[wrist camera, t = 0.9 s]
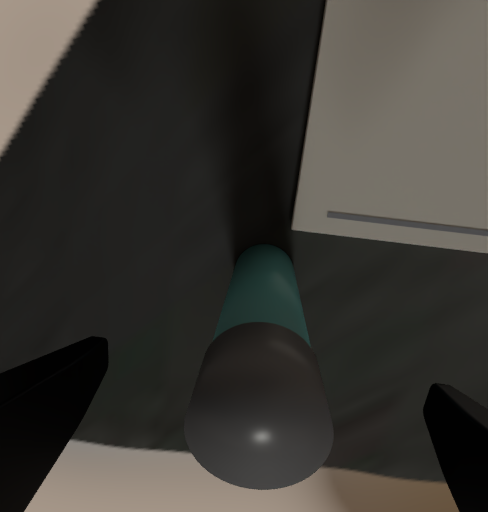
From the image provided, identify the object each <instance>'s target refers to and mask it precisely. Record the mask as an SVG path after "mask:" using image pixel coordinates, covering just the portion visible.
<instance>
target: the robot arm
mask: <svg viewBox="0 0 488 512" xmlns="http://www.w3.org/2000/svg"><path fill="white" fill-rule="evenodd" d="M107 369H108V341H107V339H106V338H102V337H95V336H91V337H89V338H86V339H84V340H81V341H79V342H76V343H74V344H71V345H69V346H67V347H64V348H62V349H59V350H57V351H54V352H52V353H49V354H47V355H44V356H42V357H39V358H37V359H35V360H32V361H30V362H27V363H25V364H22V365H20V366H17V367H15V368H12V369H10V370H8V371H5V372H3V373H0V512H24V511H25V509H26V508H27V506H28V504H29V503H30V501H31V500H32V498H33V497H34V495H35V493H36V492H37V490H38V489H39V487H40V486H41V484H42V482H43V481H44V479H45V478H46V476H47V475H48V473H49V472H50V470H51V468H52V467H53V465H54V464H55V462H56V461H57V459H58V457H59V456H60V454H61V453H62V451H63V450H64V448H65V446H66V445H67V443H68V442H69V440H70V439H71V437H72V435H73V434H74V432H75V431H76V429H77V427H78V426H79V424H80V423H81V421H82V419H83V417H84V415H85V413H86V411H87V409H88V407H89V405H90V403H91V401H92V399H93V397H94V395H95V393H96V391H97V389H98V387H99V386H100V384H101V382H102V380H103V378H104V376H105V374H106V371H107ZM423 415H424V419H425V422H426V425H427V428H428V431H429V434H430V437H431V440H432V443H433V446H434V449H435V452H436V455H437V458H438V461H439V464H440V467H441V469H442V472H443V475H444V477H445V480H446V482H447V484H448V487H449V489H450V491H451V494H452V496H453V498H454V500H455V503H456V505H457V507H458V509H459V512H488V409H486V408H485V407H483V406H482V405H480V404H479V403H477V402H475V401H474V400H472V399H471V398H469V397H468V396H466V395H465V394H463V393H461V392H460V391H458V390H457V389H455V388H454V387H452V386H450V385H445V384H438V383H435V384H432V386H431V387H430V390H429V393H428V396H427V398H426V401H425V404H424V408H423Z"/></svg>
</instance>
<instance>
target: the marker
mask: <svg viewBox="0 0 488 512" xmlns="http://www.w3.org/2000/svg"><path fill="white" fill-rule="evenodd" d="M184 433H185V438H186V442H187V444H188V447H189V449H190V451H191V453H192V454H193V456H194V457H195V459H196V460H197V461H198V462H199V463H200V464H201V466H202V467H204V468H205V469H206V470H207V471H208V472H210V473H211V474H213V475H214V476H216V477H218V478H219V479H221V480H223V481H226V482H228V483H230V484H233V485H236V486H239V487H244V488H249V489H258V490H266V489H267V490H268V489H278V488H283V487H287V486H290V485H293V484H296V483H298V482H300V481H303V480H304V479H306V478H308V477H309V476H311V475H312V474H313V473H315V472H316V471H317V470H318V469H319V468H320V467H321V466H322V465H323V463H324V462H325V460H326V459H327V457H328V455H329V453H330V451H331V448H332V444H333V438H334V435H333V424H332V420H331V415H330V411H329V407H328V403H327V399H326V394H325V390H324V386H323V382H322V377H321V373H320V369H319V365H318V361H317V358H316V356H315V354H314V352H313V350H312V348H311V346H310V342H309V337H308V332H307V328H306V323H305V319H304V314H303V310H302V305H301V300H300V296H299V291H298V287H297V282H296V277H295V273H294V268H293V264H292V261H291V259H290V258H289V256H288V255H287V254H286V253H285V252H284V251H283V250H282V249H280V248H278V247H276V246H274V245H270V244H258V245H254V246H252V247H250V248H248V249H246V250H245V251H244V252H243V253H242V254H241V255H240V256H239V258H238V260H237V262H236V265H235V268H234V272H233V275H232V278H231V282H230V285H229V288H228V292H227V295H226V298H225V302H224V305H223V308H222V312H221V315H220V318H219V322H218V325H217V328H216V332H215V335H214V338H213V342H212V343H211V344H210V346H209V347H208V349H207V351H206V353H205V356H204V359H203V362H202V365H201V368H200V372H199V375H198V378H197V381H196V384H195V387H194V390H193V394H192V397H191V400H190V403H189V406H188V409H187V412H186V415H185V421H184Z"/></svg>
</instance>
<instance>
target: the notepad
mask: <svg viewBox="0 0 488 512" xmlns="http://www.w3.org/2000/svg"><path fill="white" fill-rule="evenodd" d="M291 229H292V230H298V231H306V232H315V233H323V234H331V235H340V236H348V237H356V238H365V239H373V240H381V241H390V242H398V243H406V244H415V245H423V246H431V247H440V248H448V249H456V250H465V251H473V252H481V253H488V0H326V3H325V9H324V16H323V22H322V29H321V35H320V42H319V48H318V55H317V61H316V68H315V74H314V81H313V87H312V94H311V100H310V106H309V113H308V119H307V126H306V132H305V139H304V145H303V152H302V158H301V165H300V171H299V178H298V184H297V191H296V197H295V204H294V210H293V217H292V223H291Z"/></svg>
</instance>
